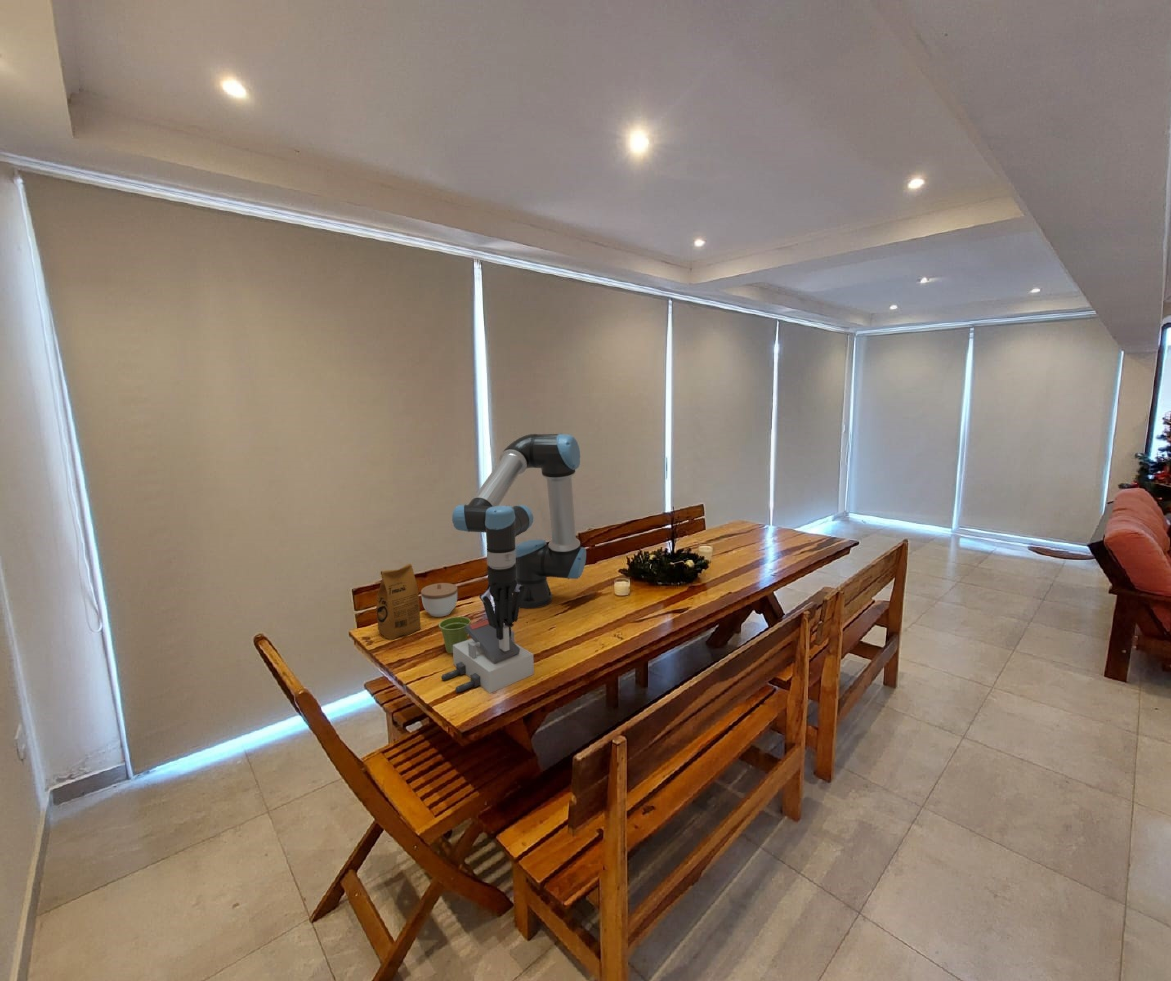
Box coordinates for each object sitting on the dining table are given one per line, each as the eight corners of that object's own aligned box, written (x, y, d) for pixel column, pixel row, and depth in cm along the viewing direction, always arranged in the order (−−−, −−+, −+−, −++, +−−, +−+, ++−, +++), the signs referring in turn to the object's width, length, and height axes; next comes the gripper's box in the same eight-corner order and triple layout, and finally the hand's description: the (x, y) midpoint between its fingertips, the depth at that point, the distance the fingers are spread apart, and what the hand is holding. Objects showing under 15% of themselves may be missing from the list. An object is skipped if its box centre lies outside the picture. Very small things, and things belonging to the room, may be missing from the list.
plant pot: (434, 649, 156) (433, 622, 155) (461, 639, 163) (460, 613, 162) (450, 660, 150) (448, 632, 148) (477, 649, 156) (476, 622, 155)
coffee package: (374, 633, 168) (369, 569, 164) (410, 621, 177) (405, 560, 173) (388, 642, 161) (383, 576, 157) (424, 630, 170) (420, 566, 166)
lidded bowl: (419, 610, 186) (417, 581, 185) (454, 603, 192) (452, 575, 190) (425, 623, 175) (423, 592, 173) (462, 616, 181) (460, 586, 179)
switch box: (495, 649, 156) (494, 618, 155) (533, 674, 142) (533, 641, 140) (432, 672, 143) (430, 639, 141) (467, 703, 128) (465, 667, 127)
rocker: (492, 621, 152) (493, 616, 151) (523, 652, 141) (523, 647, 141) (460, 632, 145) (461, 626, 145) (489, 665, 134) (490, 659, 134)
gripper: (487, 574, 127) (490, 662, 131) (530, 563, 136) (532, 646, 140) (472, 567, 133) (475, 651, 137) (514, 557, 141) (516, 637, 145)
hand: (504, 648), depth 138 cm, fingers closed
